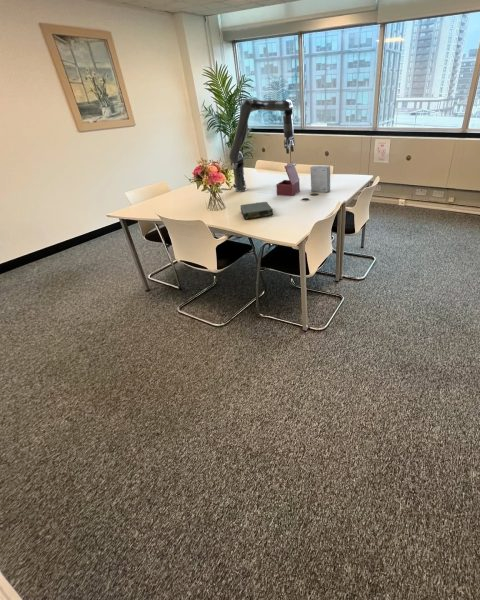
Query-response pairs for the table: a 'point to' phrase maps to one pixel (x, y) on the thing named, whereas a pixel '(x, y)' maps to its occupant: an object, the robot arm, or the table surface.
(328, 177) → the hard drive box
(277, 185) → the dark red box
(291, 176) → the purple box lid
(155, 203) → the table surface
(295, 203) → the table surface
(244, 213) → the network switch
